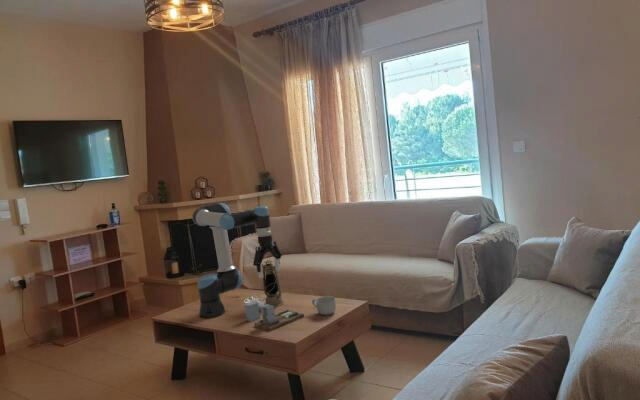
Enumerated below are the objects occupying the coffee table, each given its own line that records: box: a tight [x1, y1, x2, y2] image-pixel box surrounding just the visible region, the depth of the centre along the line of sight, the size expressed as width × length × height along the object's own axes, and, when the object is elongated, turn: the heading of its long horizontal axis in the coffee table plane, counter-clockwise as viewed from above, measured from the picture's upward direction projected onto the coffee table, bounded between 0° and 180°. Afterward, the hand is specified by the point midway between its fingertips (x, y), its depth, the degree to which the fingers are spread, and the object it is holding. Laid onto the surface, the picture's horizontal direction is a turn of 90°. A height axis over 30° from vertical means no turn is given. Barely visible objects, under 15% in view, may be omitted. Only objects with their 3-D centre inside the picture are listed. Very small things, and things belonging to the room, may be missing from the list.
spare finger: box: [244, 301, 261, 322], centre depth 263 cm, size 4×6×9 cm
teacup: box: [311, 295, 337, 316], centre depth 258 cm, size 14×11×8 cm
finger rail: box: [253, 303, 305, 332], centre depth 253 cm, size 14×23×10 cm, turn 132°
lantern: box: [261, 259, 285, 309], centre depth 283 cm, size 14×12×30 cm
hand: (269, 274), depth 252 cm, fingers open, 13 cm apart
